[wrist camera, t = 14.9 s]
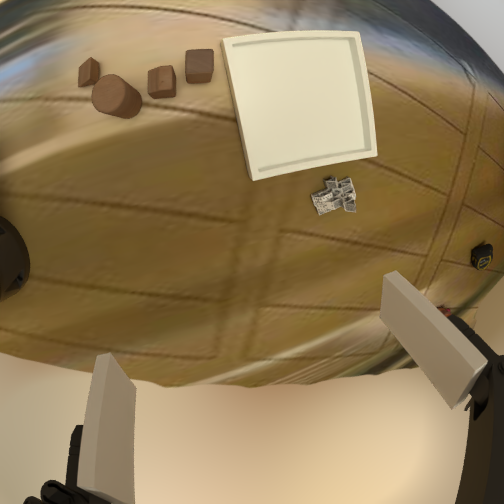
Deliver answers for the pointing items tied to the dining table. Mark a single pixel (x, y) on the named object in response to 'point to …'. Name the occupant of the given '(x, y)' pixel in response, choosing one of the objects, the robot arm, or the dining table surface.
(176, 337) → the dining table surface
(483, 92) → the dining table surface
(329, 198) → the house of cards
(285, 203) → the dining table surface
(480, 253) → the tape measure
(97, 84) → the wooden block set
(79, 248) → the dining table surface
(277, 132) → the tray
